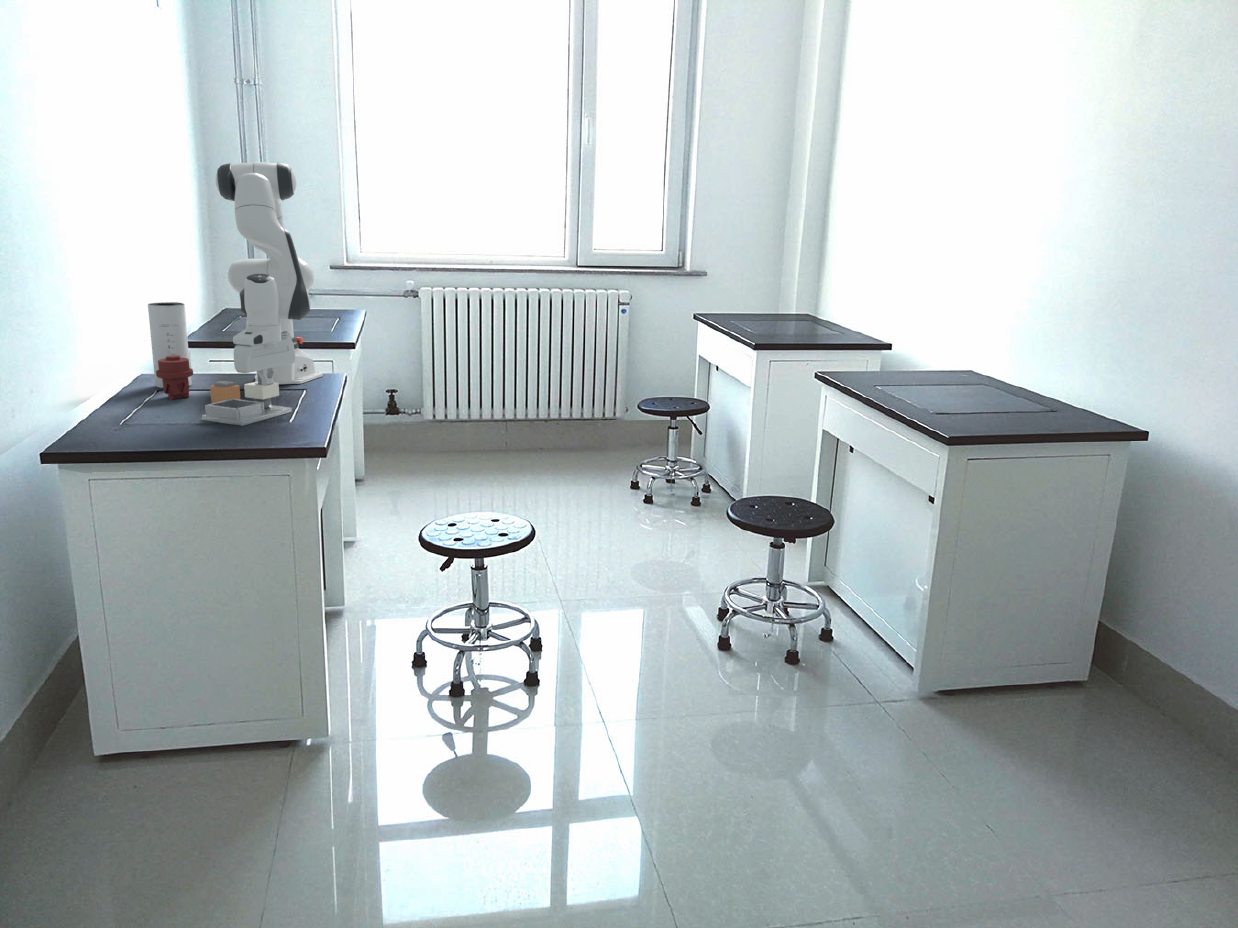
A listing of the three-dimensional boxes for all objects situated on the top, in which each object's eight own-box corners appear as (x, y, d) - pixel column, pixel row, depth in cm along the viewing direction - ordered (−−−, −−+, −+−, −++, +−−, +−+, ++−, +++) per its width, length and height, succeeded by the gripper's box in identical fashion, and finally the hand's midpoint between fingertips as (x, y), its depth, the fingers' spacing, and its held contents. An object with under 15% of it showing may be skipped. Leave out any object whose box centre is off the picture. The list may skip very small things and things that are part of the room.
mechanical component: (202, 395, 292) (181, 401, 282) (172, 393, 293) (151, 399, 284) (198, 354, 288) (177, 359, 279) (168, 352, 290) (146, 357, 281)
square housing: (261, 393, 275) (260, 380, 274) (279, 395, 273) (278, 382, 272) (245, 397, 270) (244, 384, 269) (263, 399, 267) (262, 386, 266)
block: (225, 403, 282) (223, 379, 280) (241, 405, 279) (239, 381, 278) (211, 406, 277) (209, 382, 275) (228, 409, 275) (226, 384, 273)
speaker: (194, 382, 310) (186, 300, 303) (190, 388, 300) (181, 304, 293) (158, 383, 307) (149, 300, 300) (152, 389, 297) (143, 304, 290)
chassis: (253, 406, 278) (249, 366, 275) (291, 411, 273) (289, 371, 270) (202, 419, 261) (198, 377, 258) (242, 425, 256) (238, 382, 253)
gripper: (281, 329, 276) (284, 377, 280) (227, 338, 258) (232, 389, 262) (299, 331, 274) (302, 379, 278) (246, 340, 256) (250, 391, 259)
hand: (267, 384), depth 270 cm, fingers closed, pressing on square housing
